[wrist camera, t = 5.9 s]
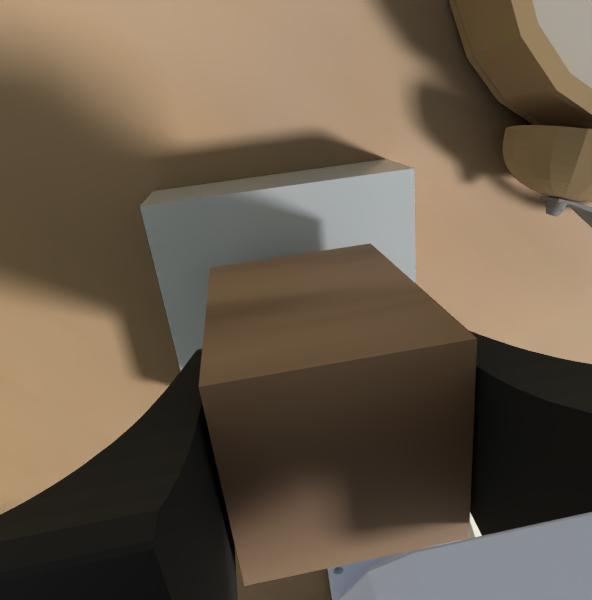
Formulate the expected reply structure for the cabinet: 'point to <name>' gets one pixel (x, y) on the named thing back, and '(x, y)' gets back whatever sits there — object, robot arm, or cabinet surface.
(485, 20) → the alarm clock
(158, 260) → the grey stone block
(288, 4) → the cabinet surface
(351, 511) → the walnut block
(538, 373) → the robot arm
